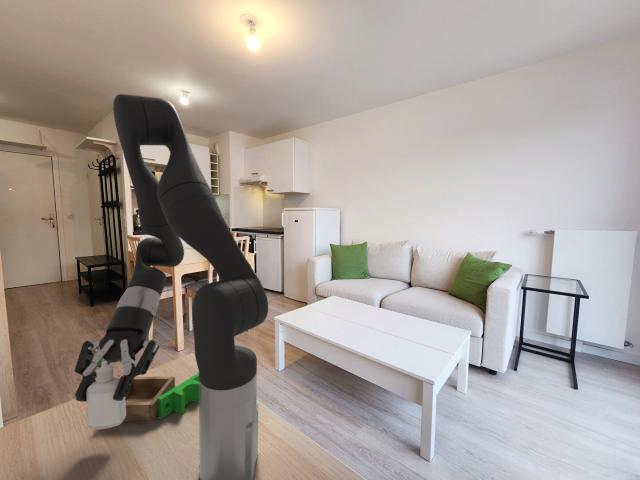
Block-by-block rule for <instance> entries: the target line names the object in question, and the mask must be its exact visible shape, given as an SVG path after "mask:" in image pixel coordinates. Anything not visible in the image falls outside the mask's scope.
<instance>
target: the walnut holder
mask: <svg viewBox="0 0 640 480" xmlns="http://www.w3.org/2000/svg"><path fill="white" fill-rule="evenodd" d="M174 387H176V378H175V376H174V375H173V376H136V377H134V379H133V380H132V383H131V386H130V389H129V391H128V394H127V395H126V397H125V401H126V417H125V419H124V420H123V422H122V423H121V424H154V422H155V421H156V420H157V419H158V406H157V398H158V397H160V396H161V395H163V394H165V393H166V392H168V391H170V390H171V389H173V388H174Z"/></svg>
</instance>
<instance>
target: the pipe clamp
mask: <svg viewBox="0 0 640 480" xmlns="http://www.w3.org/2000/svg"><path fill="white" fill-rule="evenodd" d="M191 402H198V403H199V372H197V373H196V374H194V375H193V376H190V377H189V378H188V379H186V380H185V381H183V382H181V383H179V384H178V385H175V387H174V388H173V389H171V390H170V391H168V392H166V393H165V394H163V395H161V396H160V397H158V398H157V406H158V417H157V419H158V418H159V419H160V420H162V419H163V418H164V417H166V416H167V415H168V414H170V413H172V412H173V411H174V412H177V413H179V414H181V415H182V414H184V413H185V412H186V411H185V410H186V409H185V408H186V405H187V404H189V403H191Z"/></svg>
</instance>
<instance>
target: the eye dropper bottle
mask: <svg viewBox="0 0 640 480" xmlns="http://www.w3.org/2000/svg"><path fill="white" fill-rule="evenodd" d="M102 361H103V362H102V365H101V368H99V369H98V370H97V371H96V374H97V377H96V381H95V382H94V383H92V384H91V385H90V386H89V387H88V388H87V391H86V399H87V401H86V413H87V416H86V417H87V427H88V428H89V429H92V430H106V429H110V428H115V427H118V426H119V425H121V424H123V423H122V422H123V420H124V419H125V417H126V401H125V397H124V398H123V400H122V401H116V400H114V399H113V396H114V393H115V390H116V388H117V385H118V383H119V380H120V378H119V377H114V367H113V365H109V366H108V364H107V361H104V360H102Z"/></svg>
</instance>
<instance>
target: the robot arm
mask: <svg viewBox="0 0 640 480" xmlns="http://www.w3.org/2000/svg"><path fill="white" fill-rule="evenodd" d="M112 110H113V119H114V124H115V129H116V132H117V136H118V139H119V143H120V147H121V150H122V154H123V157H124V161H125V165H126V168H127V171H128V174H129V178H130V181H131V183H132V188H133V191H134V194H135V199H136V204H137V211H138V217H139V225H140V228H141V231H142V232H143V233H144V234H146V235H148V236H151V237H146V238H144V239H142V240H140V242H139V243H138V244H137V246H136V251H135V261H134V262H135V263H134V269H133V273H132V276H131V278H130V281H129V282H128V285H127V287H126V290H125V292H124V293H122V296H121V297H120V299H119V301H118V303H117V305H116V307H115V310H114V312H113V314H112V316H111V318H110V320H109V322H108V324H107V327H106V332H105V335H104V336H103V337H102V338H101V339H100V340H99V341H93V342H91V341H89V340H85V341H84V342H83V343H82V345H81V348H80V351H79V355H78V358H77V361H76V365H75V368H74V372H75V373H76V374H77V375H78V374H79V375H81V376H82V379H80V383H79V385H78V388H77V390H76V391H75V394H74V397H75V400H76V402H80V403H82V402H87V399H86V391H87V388H88V387H89V386H90V385H91V384H92V383H94V382H95V381H97V374H96V371H97V370H98V369H99V368H101V365H102V362H103V361H107V364H108V366H110V365H111V364H112V363H117V362H120V363H121V365H122V369H123V375H121V376H120V377H119V379H120V380H119V383H118V385H117V388H116V390H115V393H114V396H113V399H114V400H116V401H122V400H123V398H124V397H126V395H127V394H128V391H129V389H130V386H131V383H132V380H133V379H134V377H139V376H140V375H141V376H145V375H146V374H147V372H148V370H149V369H150V366H151V365H152V362H153V360H154V359H155V357H156V355H157V352H158V350H159V348H160V345H159V343H158V342H156V341H155V340H153V339H152V340H147V336H148V335H149V332H150V330H151V328H152V324H153V321H154V319H155V316H156V314H157V311H158V308H159V305H160V300H161V296H162V293H163V291H164V288H165V285H166V282H167V274H166V273H165V272H164V271H163V270H160V269H158V268H156V267H167V268H174V267H175V268H176V267H178V266H179V265H180V264H181V263H182V261H183V260H184V257H185V249H184V246H183V242H185V244H187V245H188V246H190V247H191V248H192V249H193V250H195V251H196V252H197V253H198V254H200V255H201V256H202V257H203V258H205V259H206V261H208V263H209V264H210V265H211V266H212V268H213V270H214V271H215V273H216V274H217V276H218V279H219V281H213V282H209V283H206V284H203V285H202V286H200V287H199V288H197V290H196V292H195V295H194V297H193V302H192V313H191V314H192V326H193V327H192V328H193V340H194V341H193V342H194V357H195V361H196V366H197V370H198V373H199V402H198V409H199V410H198V419H199V421H198V425H199V426H198V427H199V428H198V432H199V433H198V434H199V436H198V439H199V440H198V443H199V446H198V447H199V464H198V465H199V467H198V468H199V480H254V475H255V470H256V463H257V457H258V453H259V452H258V451H259V404H257V387H258V386H257V383H258V382H257V380H258V378H257V377H258V375H257V374H258V359H257V355H256V353H255V352H254V351H253V350H252V349H251V348H248V347H245V346H241V345H237V344H235V337H236V336H238V335H241V334H242V333H245V332H247V331H250V330H251V329H254V328H255V327H259V326H260V325H262V324H263V323H264V322H265V320H266V319H267V317H268V313H269V301H268V297H267V294H266V291H265V289H264V287H263V284H262V282H261V281H260V279H259V277H258V276H257V274H256V272H255V271H254V269H253V267H252V266H251V264H250V263H249V261H248V259H247V258H246V256H245V254H244V253H243V251H242V250H241V248H240V246H239V245H238V242H237V241H236V239H235V237H234V236H233V234H232V232H231V229H230V228H229V226H228V224H227V222H226V220H225V218H224V216H223V214H222V211H221V210H220V207H219V204H218V202H217V200H216V198H215V196H214V193H213V191H212V190H211V187H210V185H209V183H208V182H207V180H206V178H205V177H204V176H205V175H204V174H203V172H202V171H201V168H200V166H199V164H198V162H197V160H196V158H195V155H194V152H193V150H192V148H191V146H190V142H189V140H188V137H187V135H186V132H185V129H184V127H183V123H182V120H181V118H180V115H179V113H178V110H176V107H175V106H174V105H173V103H172V102H170V101H169V100H167V99H164V98H161V97H153V96H144V95H135V94H125V93H124V94H123V93H122V94H121V93H119V94H117V95H115V98H114V99H113V108H112ZM141 146H165V147H166V148H167V150H168V151H169V158H168V160H167V163H166V166H165V168H164V170H163V172H162V174H161V176H160V179H158V178H157V177H156V176H155V175H154V173H153V172H152V171H151V169H150V168H149V167H148V166H147V163H146V162H145V160H144V157H143V154H142V152H141ZM182 241H183V242H182ZM155 266H156V267H155ZM142 350H143V353H142V354H141V356H140V358H139V360H138V362H137V354H138V353H139V352H140V351H142ZM98 351H99V352H98Z"/></svg>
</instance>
